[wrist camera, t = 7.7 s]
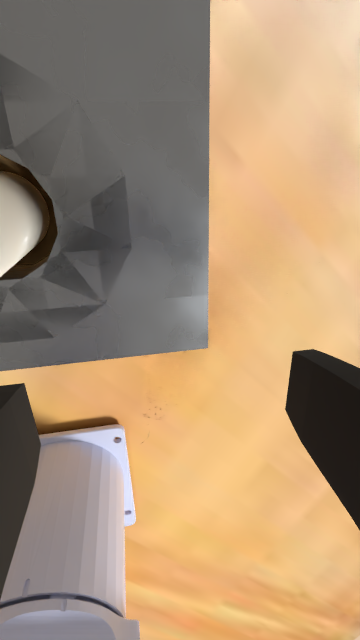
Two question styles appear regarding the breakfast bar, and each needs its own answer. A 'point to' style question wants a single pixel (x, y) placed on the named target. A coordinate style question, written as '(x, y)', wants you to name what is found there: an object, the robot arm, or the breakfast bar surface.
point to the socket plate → (108, 176)
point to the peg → (20, 219)
